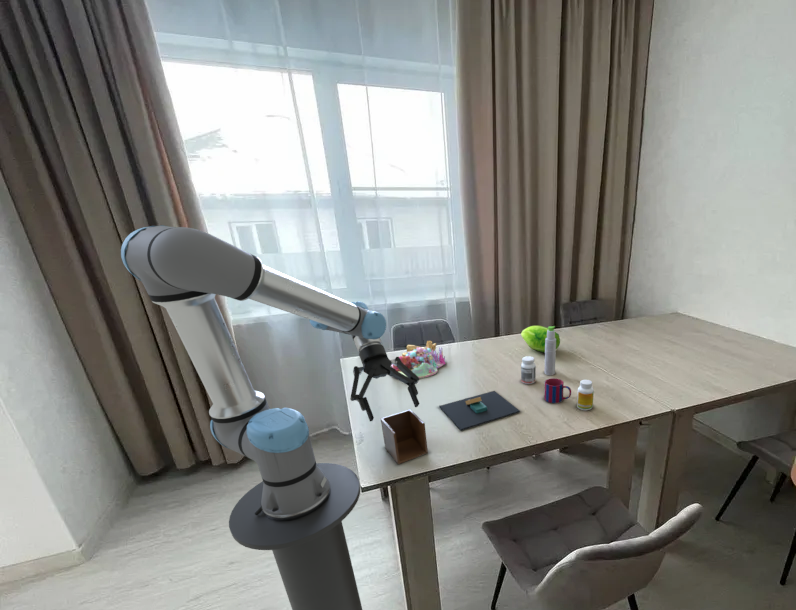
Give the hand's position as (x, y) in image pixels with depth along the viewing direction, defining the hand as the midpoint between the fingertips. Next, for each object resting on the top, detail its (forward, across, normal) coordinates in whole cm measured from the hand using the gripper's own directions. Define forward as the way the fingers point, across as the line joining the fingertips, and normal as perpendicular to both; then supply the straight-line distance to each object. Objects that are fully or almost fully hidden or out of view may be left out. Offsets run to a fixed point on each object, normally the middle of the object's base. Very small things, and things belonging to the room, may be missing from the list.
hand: (395, 412), depth 115 cm
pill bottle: (0, -58, -15) cm, 60 cm away
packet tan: (+1, -29, -10) cm, 31 cm away
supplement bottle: (+20, -60, +5) cm, 64 cm away
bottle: (-1, -70, -16) cm, 72 cm away
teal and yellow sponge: (+4, -29, -8) cm, 31 cm away
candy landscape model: (-29, -29, -44) cm, 60 cm away
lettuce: (-17, -84, -32) cm, 91 cm away
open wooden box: (+11, 0, -4) cm, 12 cm away
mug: (+13, -56, -2) cm, 58 cm away
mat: (+5, -30, -10) cm, 32 cm away
